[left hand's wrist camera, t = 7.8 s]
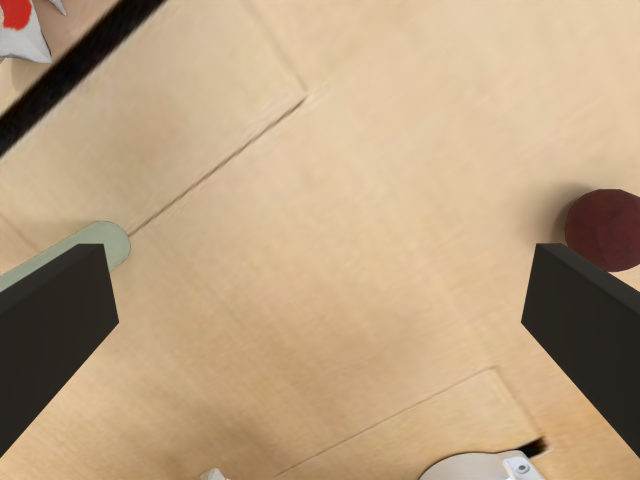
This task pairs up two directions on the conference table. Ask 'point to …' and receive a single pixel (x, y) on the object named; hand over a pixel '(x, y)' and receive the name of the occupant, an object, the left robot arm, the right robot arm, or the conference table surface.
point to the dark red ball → (606, 229)
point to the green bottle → (92, 234)
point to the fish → (23, 32)
